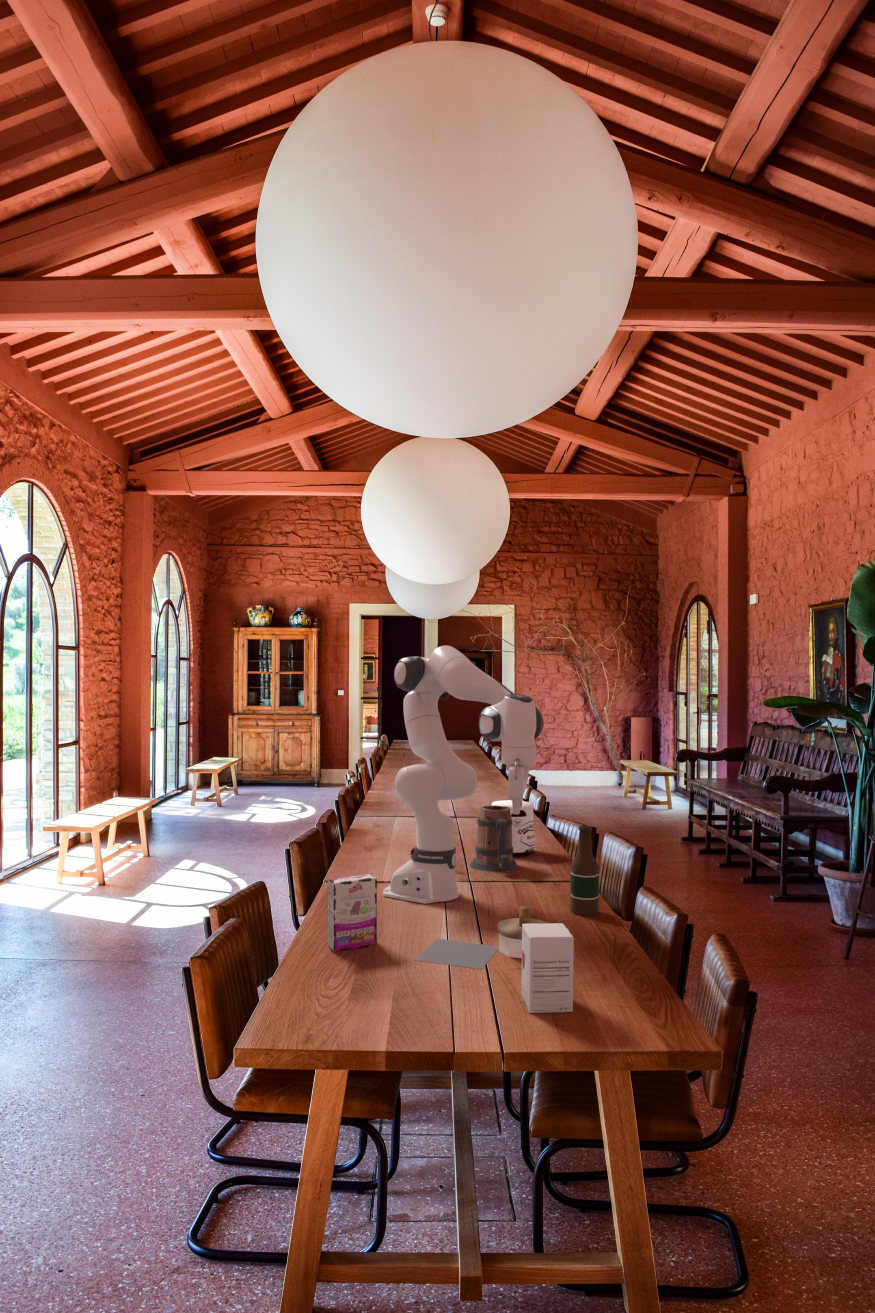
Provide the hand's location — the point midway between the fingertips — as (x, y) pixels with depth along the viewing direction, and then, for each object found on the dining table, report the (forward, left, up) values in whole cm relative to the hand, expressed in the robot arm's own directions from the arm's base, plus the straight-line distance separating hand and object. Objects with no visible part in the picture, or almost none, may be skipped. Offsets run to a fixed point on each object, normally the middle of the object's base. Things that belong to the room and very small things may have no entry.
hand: (517, 810), depth 213 cm
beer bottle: (+14, +22, -31) cm, 40 cm away
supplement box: (+17, -44, -31) cm, 56 cm away
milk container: (-23, +87, -31) cm, 95 cm away
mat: (-8, -24, -31) cm, 40 cm away
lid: (+6, -16, -26) cm, 31 cm away
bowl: (+6, -16, -31) cm, 35 cm away
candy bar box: (-34, -27, -31) cm, 53 cm away
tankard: (-22, +62, -31) cm, 73 cm away
